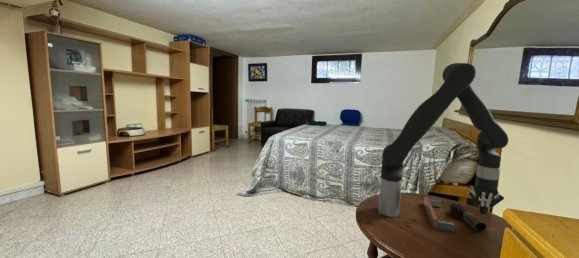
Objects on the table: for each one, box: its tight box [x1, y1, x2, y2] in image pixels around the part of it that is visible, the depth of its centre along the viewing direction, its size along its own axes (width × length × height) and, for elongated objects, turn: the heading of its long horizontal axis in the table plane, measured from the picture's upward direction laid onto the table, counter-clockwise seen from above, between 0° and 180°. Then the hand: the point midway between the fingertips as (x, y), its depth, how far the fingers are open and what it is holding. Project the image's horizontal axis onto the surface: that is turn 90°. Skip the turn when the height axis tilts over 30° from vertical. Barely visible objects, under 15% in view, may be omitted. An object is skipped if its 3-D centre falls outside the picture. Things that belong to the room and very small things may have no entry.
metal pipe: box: [449, 202, 487, 232], centre depth 107 cm, size 18×7×6 cm, turn 179°
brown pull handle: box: [423, 196, 455, 232], centre depth 111 cm, size 8×24×4 cm, turn 159°
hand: (482, 213), depth 104 cm, fingers closed
